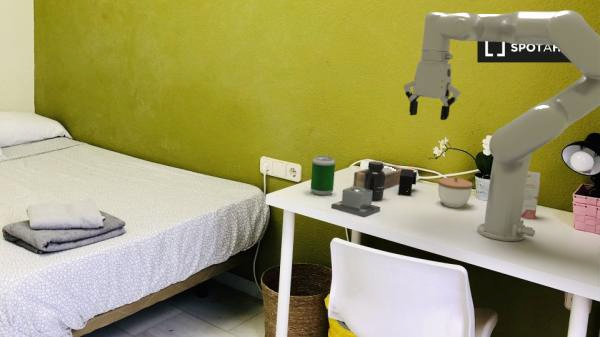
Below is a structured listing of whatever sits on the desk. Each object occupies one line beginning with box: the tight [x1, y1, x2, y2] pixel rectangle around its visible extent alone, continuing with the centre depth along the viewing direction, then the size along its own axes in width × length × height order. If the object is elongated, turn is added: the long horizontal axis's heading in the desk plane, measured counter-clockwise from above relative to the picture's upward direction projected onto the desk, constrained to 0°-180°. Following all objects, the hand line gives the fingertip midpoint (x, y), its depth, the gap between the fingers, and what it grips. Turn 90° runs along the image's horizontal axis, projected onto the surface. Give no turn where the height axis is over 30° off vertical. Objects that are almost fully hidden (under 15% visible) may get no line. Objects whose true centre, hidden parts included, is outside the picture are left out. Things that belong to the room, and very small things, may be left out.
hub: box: [341, 186, 373, 210], centre depth 184 cm, size 7×7×5 cm
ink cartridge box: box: [521, 171, 541, 220], centre depth 188 cm, size 9×5×15 cm, turn 68°
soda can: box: [310, 155, 336, 196], centre depth 200 cm, size 8×8×12 cm
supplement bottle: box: [363, 160, 385, 202], centre depth 197 cm, size 7×7×12 cm
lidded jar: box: [437, 176, 473, 209], centre depth 196 cm, size 11×11×9 cm
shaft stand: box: [330, 189, 381, 218], centre depth 185 cm, size 12×9×6 cm
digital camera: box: [397, 168, 418, 197], centre depth 208 cm, size 10×5×7 cm, turn 168°
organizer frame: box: [352, 163, 406, 190], centre depth 217 cm, size 9×20×5 cm, turn 142°
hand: (428, 117), depth 174 cm, fingers open, 9 cm apart
